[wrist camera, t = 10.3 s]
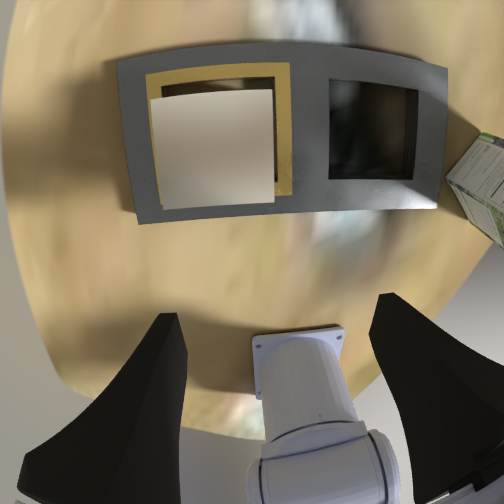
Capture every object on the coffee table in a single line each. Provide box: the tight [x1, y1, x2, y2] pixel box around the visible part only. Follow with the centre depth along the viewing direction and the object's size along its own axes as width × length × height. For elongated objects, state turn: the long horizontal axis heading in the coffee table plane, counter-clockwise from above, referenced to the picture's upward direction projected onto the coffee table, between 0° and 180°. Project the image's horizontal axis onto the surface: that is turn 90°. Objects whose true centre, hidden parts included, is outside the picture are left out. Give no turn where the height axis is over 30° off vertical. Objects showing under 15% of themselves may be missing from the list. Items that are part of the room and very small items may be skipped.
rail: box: [117, 43, 448, 225], centre depth 16 cm, size 10×20×2 cm, turn 93°
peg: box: [150, 89, 274, 210], centre depth 13 cm, size 4×4×8 cm
